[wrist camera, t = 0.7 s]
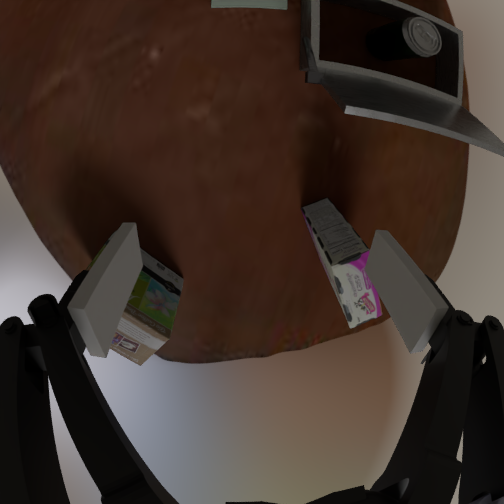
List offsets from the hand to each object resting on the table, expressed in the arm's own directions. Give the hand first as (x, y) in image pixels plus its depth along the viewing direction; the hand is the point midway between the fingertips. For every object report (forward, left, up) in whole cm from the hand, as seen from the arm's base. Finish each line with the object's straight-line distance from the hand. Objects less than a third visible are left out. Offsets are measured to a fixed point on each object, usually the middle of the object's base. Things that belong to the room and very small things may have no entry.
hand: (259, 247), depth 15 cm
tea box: (+21, -19, -27) cm, 39 cm away
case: (-16, +18, -27) cm, 36 cm away
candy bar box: (+13, +13, -27) cm, 32 cm away
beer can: (-18, +19, -27) cm, 38 cm away
